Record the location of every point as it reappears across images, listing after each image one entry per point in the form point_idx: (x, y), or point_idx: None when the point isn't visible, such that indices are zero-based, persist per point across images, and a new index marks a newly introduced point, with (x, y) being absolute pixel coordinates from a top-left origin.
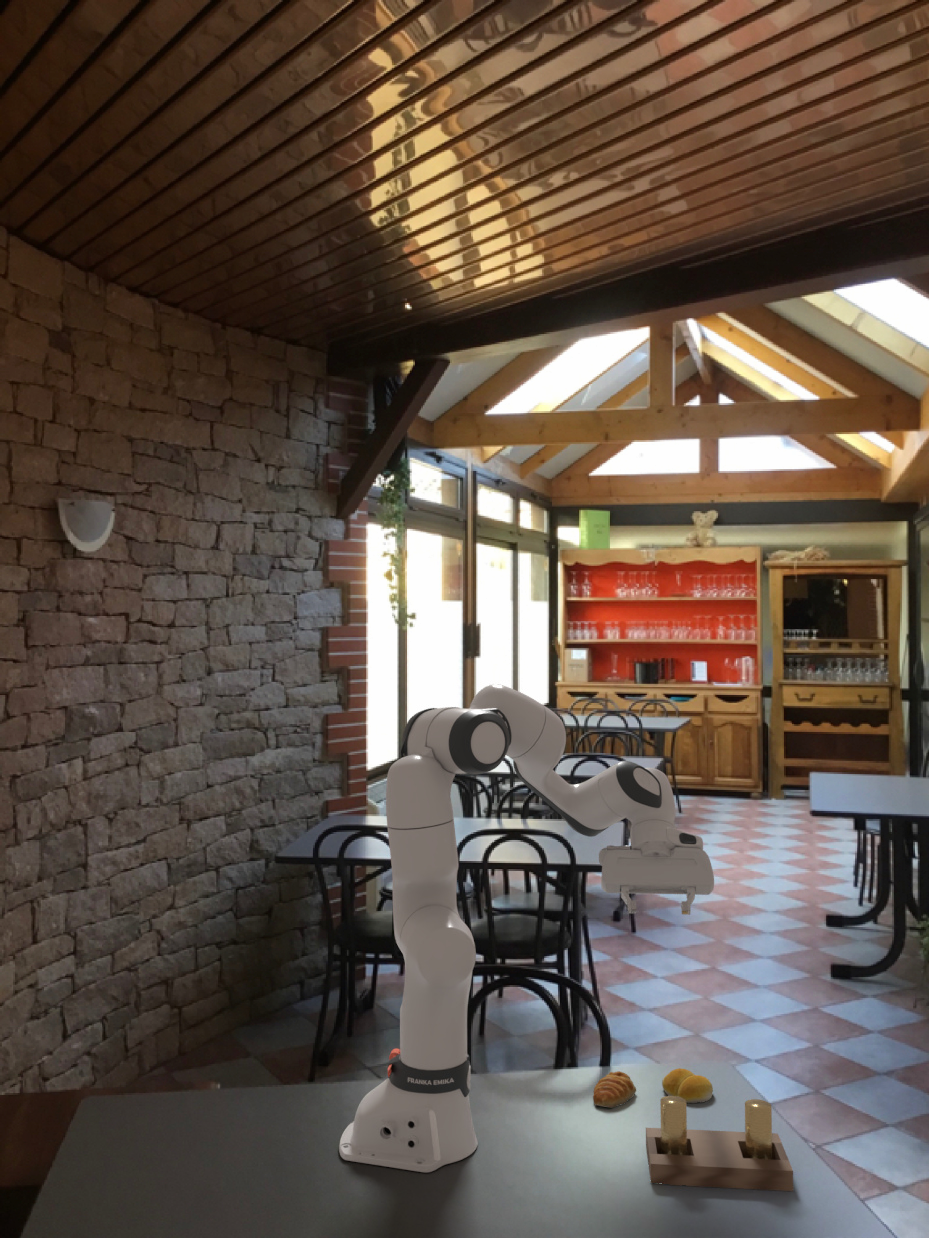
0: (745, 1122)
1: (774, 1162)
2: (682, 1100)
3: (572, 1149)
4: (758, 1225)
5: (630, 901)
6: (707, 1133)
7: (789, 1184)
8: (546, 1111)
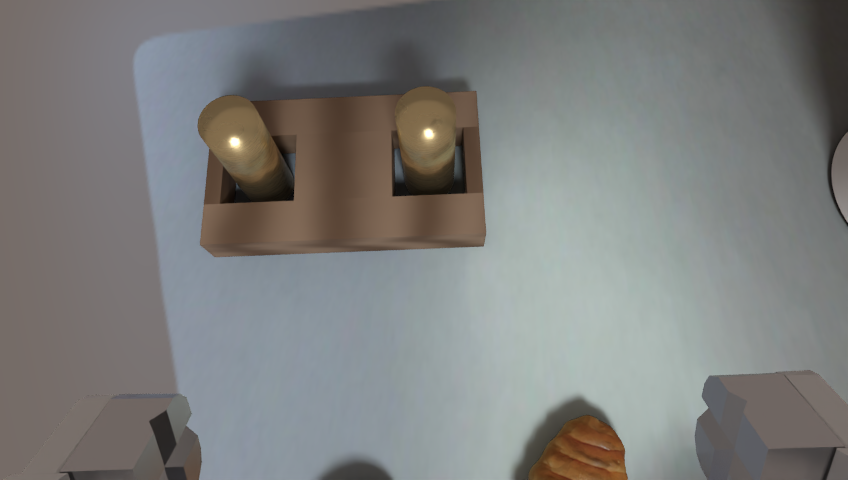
0: (269, 137)
1: None
2: (403, 119)
3: (634, 212)
4: (309, 22)
5: (837, 434)
6: (352, 224)
7: None
8: None
